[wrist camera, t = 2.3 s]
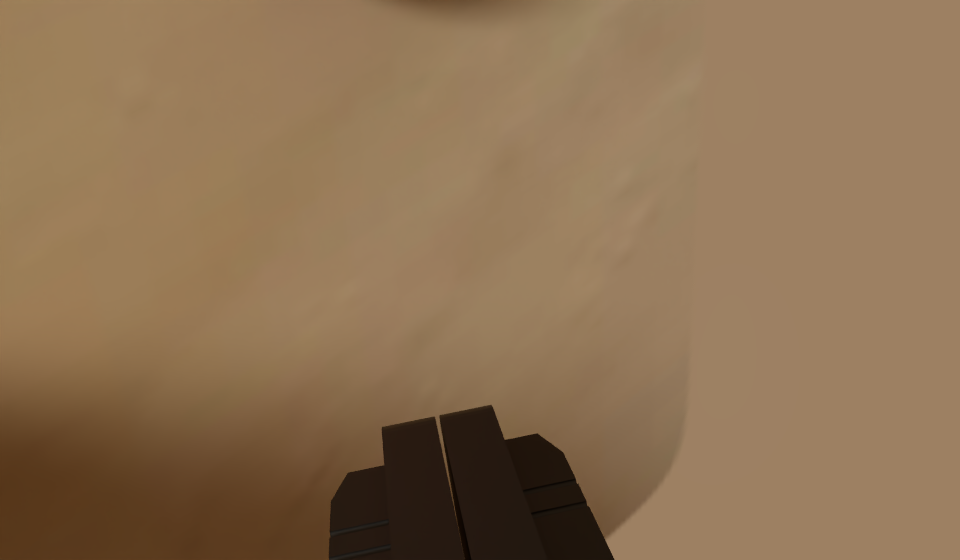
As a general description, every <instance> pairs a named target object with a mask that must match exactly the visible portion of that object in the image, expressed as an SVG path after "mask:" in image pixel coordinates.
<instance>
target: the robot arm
mask: <svg viewBox="0 0 960 560" xmlns="http://www.w3.org/2000/svg"><path fill="white" fill-rule="evenodd" d="M439 417H440V424H441V430H442V436H443V442H444V447H445V453H446V459H447V465H448V471H449V476H450V482H451V488H452V494H453V500H454V505H455V511H456V516H455V511H454V506H453V501H452V497H451V492H450V487H449V482H448V477H447V473H446V468H445V463H444V458H443V453H442V449H441V444H440V439H439V434H438V429H437V425H436V420H435V417H430V418H425V419H420V420H415V421H410V422H405V423H400V424H395V425H390V426H385V427H382V439H383V452H384V466H379V467H374V468H369V469H364V470H359V471H355V472H350V473H348V474H347V475H346V477H345V479H344V480H343V482H342V484H341V485H340V487H339V489H338V491H337V492H336V494H335V496H334V497H333V499H332V501H331V514H330V536H331V538H330V541H329V560H614V558H613V556H612V553H611V551H610V549H609V547H608V545H607V543H606V541H605V539H604V537H603V535H602V533H601V531H600V528H599V526H598V524H597V522H596V520H595V518H594V516H593V514H592V512H591V510H590V508H589V507H588V506H587V503H586V499H585V497H584V495H583V493H582V491H581V489H580V487H579V485H578V484H577V483H576V478H575V476H574V474H573V472H572V470H571V468H570V466H569V464H568V462H567V460H566V458H565V455H564V453H563V452H562V451H560V450H559V449H558V448H556V447H555V446H554V445H552V444H551V443H550V442H548V441H547V440H545V439H544V438H543V437H541V436H540V435H539V434H533V435H528V436H523V437H518V438H513V439H508V440H504V437H503V434H502V431H501V429H500V426H499V423H498V420H497V418H496V415H495V412H494V409H493V407H492V405H488V406H483V407H478V408H473V409H469V410H464V411H459V412H454V413H449V414H444V415H439ZM456 517H457V521H456ZM457 522H458V525H457ZM458 528H459V530H458ZM459 533H460V535H459ZM460 538H461V540H460ZM461 543H462V545H461ZM462 548H463V549H462ZM463 553H464V554H463ZM464 558H465V559H464Z"/></svg>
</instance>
